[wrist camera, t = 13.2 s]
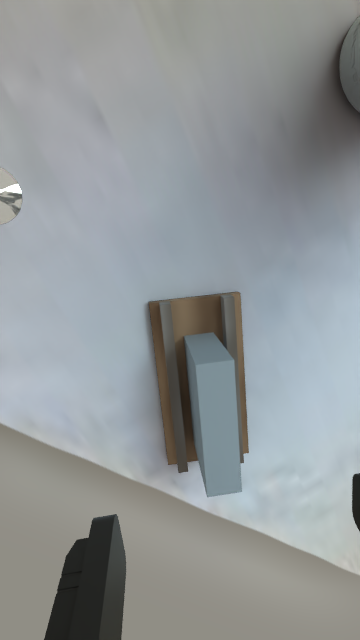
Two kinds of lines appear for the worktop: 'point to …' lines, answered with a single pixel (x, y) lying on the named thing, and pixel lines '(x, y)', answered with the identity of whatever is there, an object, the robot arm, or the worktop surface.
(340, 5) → the worktop surface
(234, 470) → the door panel
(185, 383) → the door track
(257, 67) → the worktop surface
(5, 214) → the wineglass
